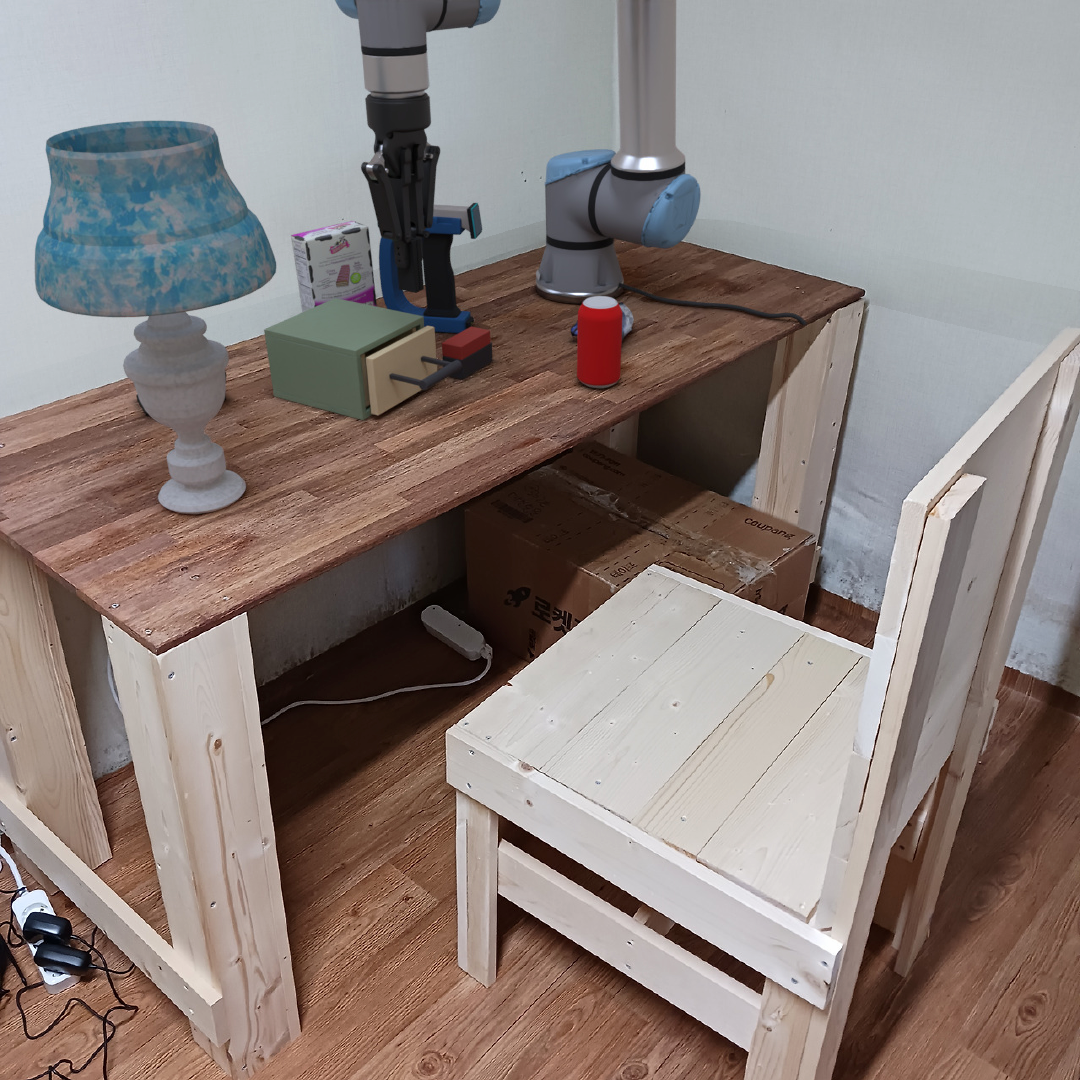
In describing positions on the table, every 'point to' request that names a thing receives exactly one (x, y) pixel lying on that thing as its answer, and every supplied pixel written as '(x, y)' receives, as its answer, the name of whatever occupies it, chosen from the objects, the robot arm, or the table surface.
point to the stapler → (468, 351)
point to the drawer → (402, 369)
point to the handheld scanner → (433, 270)
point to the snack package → (626, 322)
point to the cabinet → (330, 353)
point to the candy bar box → (334, 265)
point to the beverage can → (599, 342)
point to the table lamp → (156, 273)
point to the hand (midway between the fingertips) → (411, 289)
